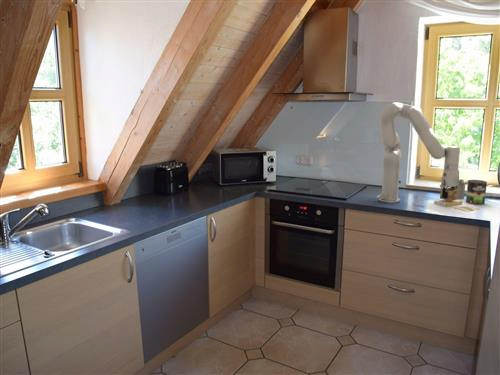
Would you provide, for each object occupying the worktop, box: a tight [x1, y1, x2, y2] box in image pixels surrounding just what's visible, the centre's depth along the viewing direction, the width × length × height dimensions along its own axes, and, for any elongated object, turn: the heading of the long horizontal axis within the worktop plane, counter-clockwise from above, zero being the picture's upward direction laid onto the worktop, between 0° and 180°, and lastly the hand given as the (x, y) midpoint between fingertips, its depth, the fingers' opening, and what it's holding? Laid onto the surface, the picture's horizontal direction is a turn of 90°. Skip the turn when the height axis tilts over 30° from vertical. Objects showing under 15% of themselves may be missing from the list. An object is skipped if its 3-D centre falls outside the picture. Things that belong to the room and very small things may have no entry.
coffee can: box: [465, 179, 488, 205], centre depth 256 cm, size 10×10×14 cm
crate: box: [439, 187, 458, 201], centre depth 253 cm, size 6×7×6 cm
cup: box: [449, 182, 466, 200], centre depth 269 cm, size 8×8×10 cm
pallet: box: [454, 205, 480, 213], centre depth 243 cm, size 11×9×1 cm
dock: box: [433, 199, 463, 208], centre depth 254 cm, size 13×9×3 cm
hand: (448, 197), depth 253 cm, fingers closed on crate, 6 cm apart
